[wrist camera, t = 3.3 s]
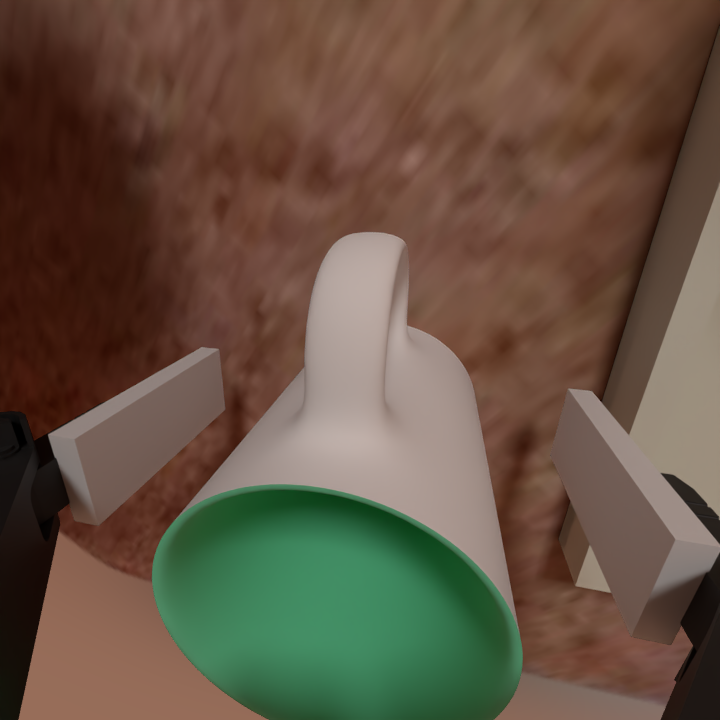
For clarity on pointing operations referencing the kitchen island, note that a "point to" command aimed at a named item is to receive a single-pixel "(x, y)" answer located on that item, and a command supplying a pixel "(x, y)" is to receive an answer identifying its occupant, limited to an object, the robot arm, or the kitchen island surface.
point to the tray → (673, 332)
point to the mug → (352, 527)
